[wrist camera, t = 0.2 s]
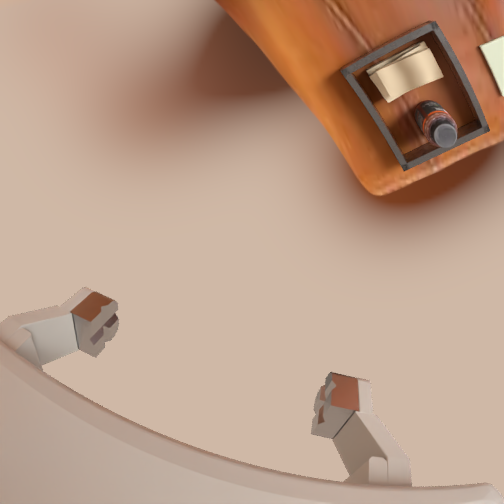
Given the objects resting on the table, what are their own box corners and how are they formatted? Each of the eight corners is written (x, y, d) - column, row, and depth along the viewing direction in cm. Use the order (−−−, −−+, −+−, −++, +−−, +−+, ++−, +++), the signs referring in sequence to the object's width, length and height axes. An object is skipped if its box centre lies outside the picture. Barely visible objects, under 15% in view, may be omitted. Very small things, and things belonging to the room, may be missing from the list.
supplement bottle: (422, 134, 48) (435, 160, 40) (408, 106, 46) (420, 126, 38) (448, 123, 45) (467, 146, 37) (435, 94, 43) (454, 112, 35)
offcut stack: (421, 40, 37) (429, 42, 33) (439, 71, 40) (449, 77, 35) (365, 69, 44) (367, 74, 40) (384, 98, 47) (387, 107, 43)
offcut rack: (429, 20, 34) (435, 20, 31) (482, 123, 42) (490, 130, 39) (340, 68, 45) (340, 71, 43) (401, 162, 53) (404, 171, 51)
